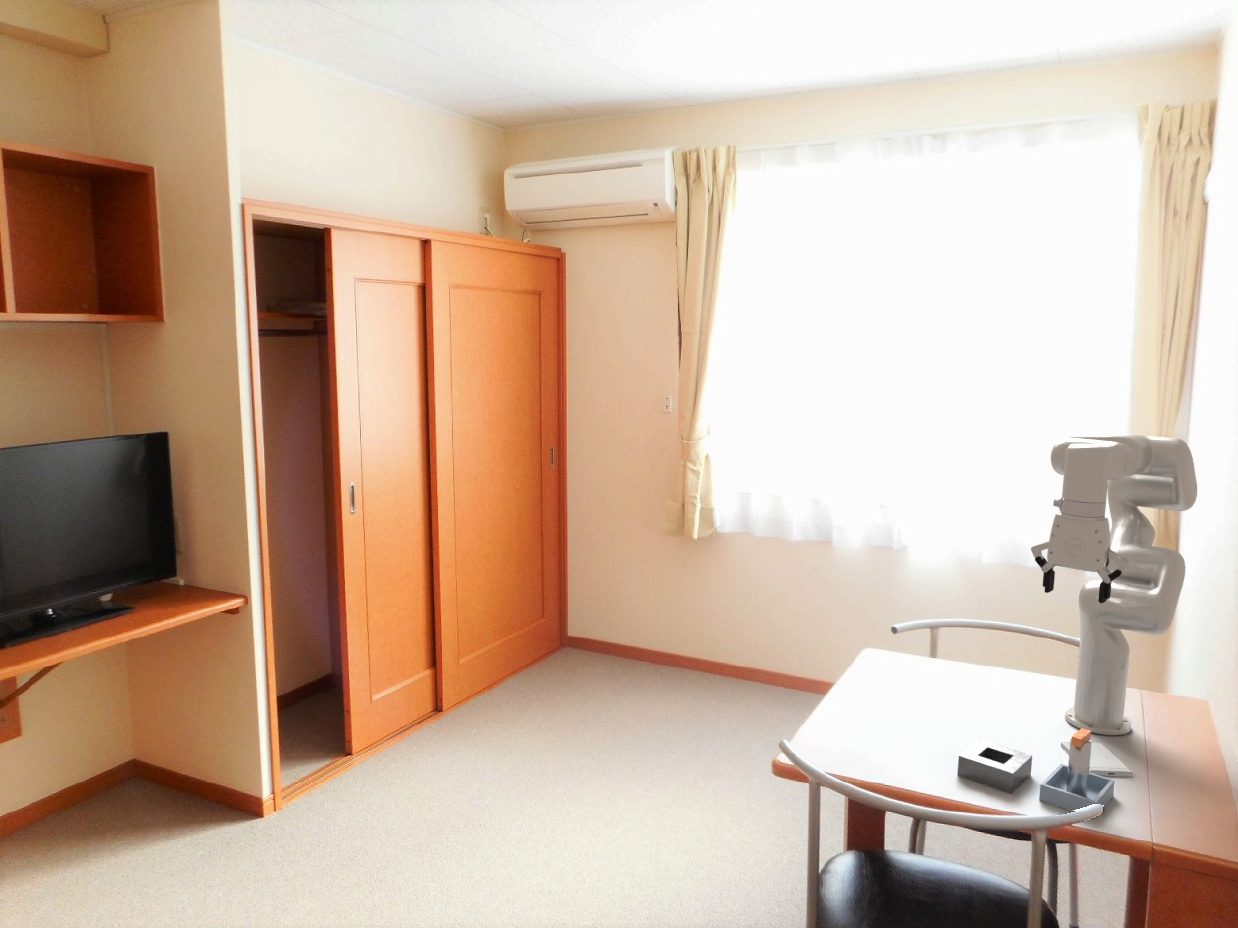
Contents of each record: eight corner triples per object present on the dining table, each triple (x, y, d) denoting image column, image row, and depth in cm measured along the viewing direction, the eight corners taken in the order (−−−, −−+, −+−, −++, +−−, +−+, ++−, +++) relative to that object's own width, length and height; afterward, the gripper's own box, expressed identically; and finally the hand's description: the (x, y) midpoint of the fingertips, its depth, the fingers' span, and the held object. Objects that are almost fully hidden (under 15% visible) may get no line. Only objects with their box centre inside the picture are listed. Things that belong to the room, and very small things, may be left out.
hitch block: (978, 758, 179) (979, 738, 178) (1030, 775, 172) (1032, 755, 172) (957, 775, 172) (958, 755, 171) (1011, 793, 165) (1012, 773, 164)
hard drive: (1060, 741, 185) (1089, 769, 172) (1101, 742, 185) (1133, 770, 172) (1060, 748, 185) (1089, 777, 173) (1100, 750, 185) (1132, 779, 172)
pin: (1061, 795, 163) (1066, 734, 162) (1071, 786, 167) (1076, 726, 165) (1081, 802, 161) (1086, 740, 159) (1091, 793, 164) (1096, 732, 163)
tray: (1059, 778, 171) (1061, 763, 171) (1113, 795, 165) (1114, 780, 164) (1039, 799, 163) (1040, 784, 162) (1094, 818, 157) (1096, 802, 156)
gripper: (1028, 505, 175) (1021, 591, 177) (1128, 518, 163) (1119, 610, 166) (1042, 500, 180) (1035, 584, 183) (1139, 513, 169) (1130, 601, 171)
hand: (1075, 596), depth 174 cm, fingers open, 9 cm apart
